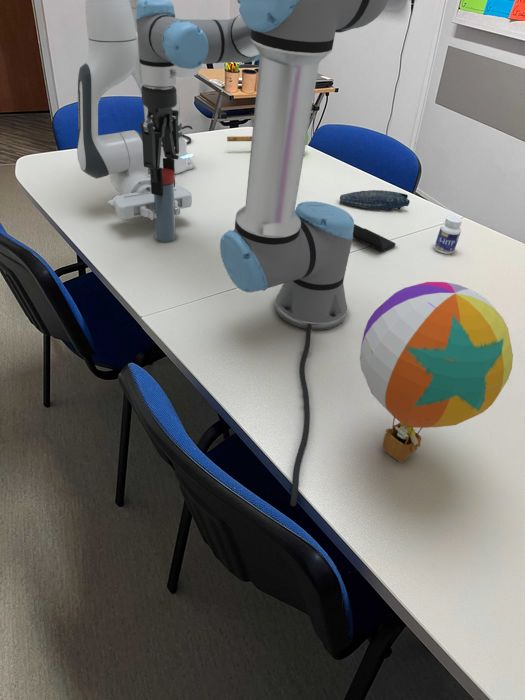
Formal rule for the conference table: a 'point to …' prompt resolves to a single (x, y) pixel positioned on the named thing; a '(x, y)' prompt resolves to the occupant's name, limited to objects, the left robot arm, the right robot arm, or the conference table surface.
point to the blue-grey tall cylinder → (165, 214)
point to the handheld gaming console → (372, 239)
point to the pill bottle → (448, 235)
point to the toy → (434, 359)
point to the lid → (168, 176)
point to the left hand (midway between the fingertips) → (166, 214)
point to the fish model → (376, 199)
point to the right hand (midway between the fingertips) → (163, 189)
